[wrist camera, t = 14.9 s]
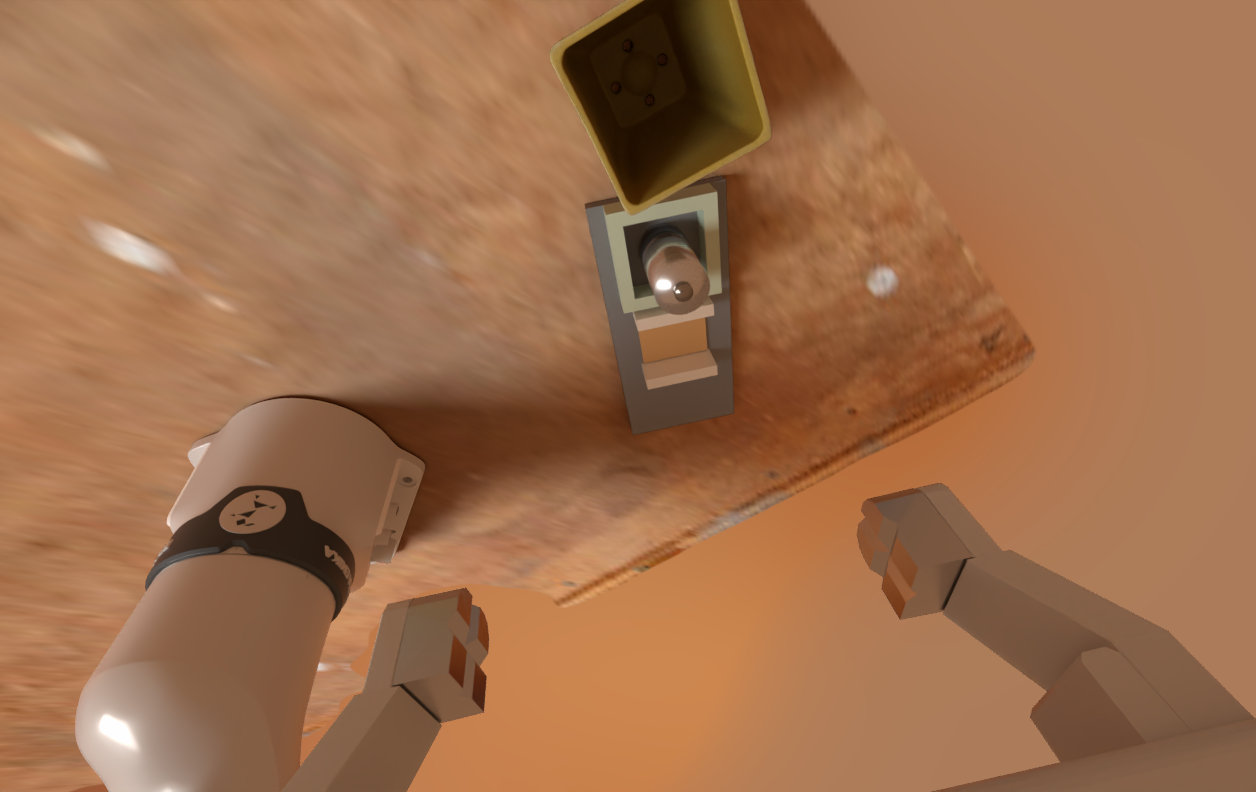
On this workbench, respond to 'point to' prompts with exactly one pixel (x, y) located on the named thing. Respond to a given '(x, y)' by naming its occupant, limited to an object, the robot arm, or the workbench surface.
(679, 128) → the flower pot
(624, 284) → the pale green flat frame
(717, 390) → the board
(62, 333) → the workbench surface
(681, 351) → the cradle
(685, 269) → the cell
